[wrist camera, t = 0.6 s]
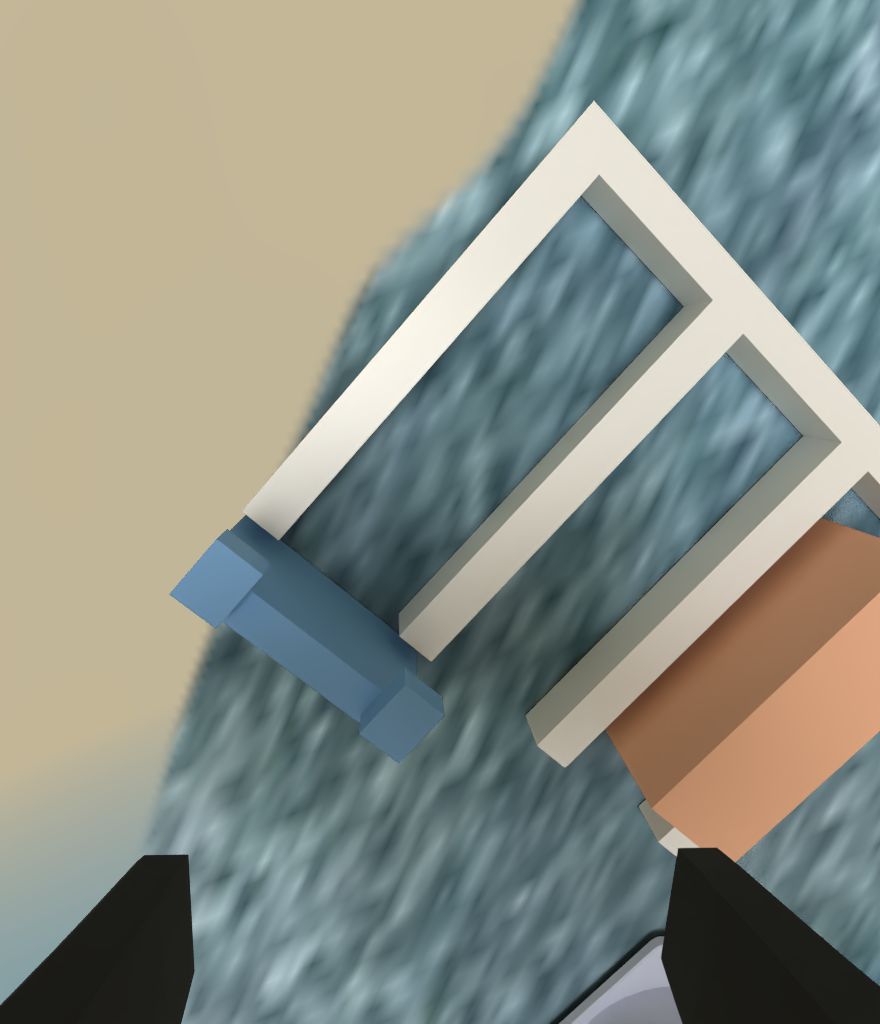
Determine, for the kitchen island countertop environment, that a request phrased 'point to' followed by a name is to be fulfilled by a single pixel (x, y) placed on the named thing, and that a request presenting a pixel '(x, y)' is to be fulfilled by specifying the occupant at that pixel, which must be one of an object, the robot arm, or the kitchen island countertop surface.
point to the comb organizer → (608, 434)
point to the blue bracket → (314, 634)
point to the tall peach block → (764, 696)
